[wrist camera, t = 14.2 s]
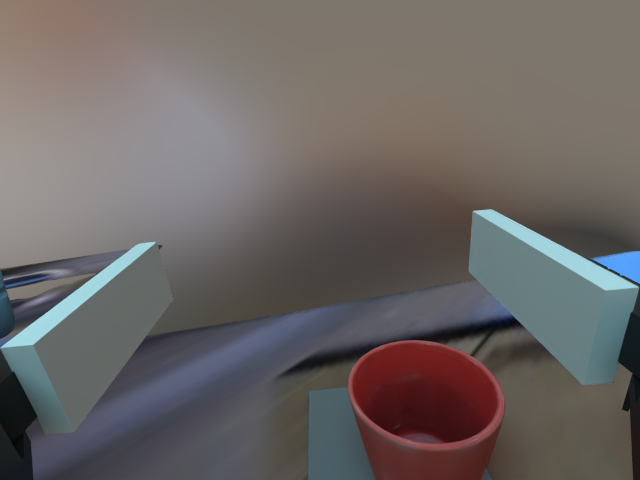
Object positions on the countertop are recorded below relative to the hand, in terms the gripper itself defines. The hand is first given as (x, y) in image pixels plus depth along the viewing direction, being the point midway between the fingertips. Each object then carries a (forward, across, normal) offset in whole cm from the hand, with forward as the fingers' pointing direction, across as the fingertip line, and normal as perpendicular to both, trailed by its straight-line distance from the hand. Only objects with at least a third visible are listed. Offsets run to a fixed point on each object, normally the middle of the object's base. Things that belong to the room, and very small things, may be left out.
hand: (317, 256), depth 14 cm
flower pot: (+6, +7, -24) cm, 25 cm away
